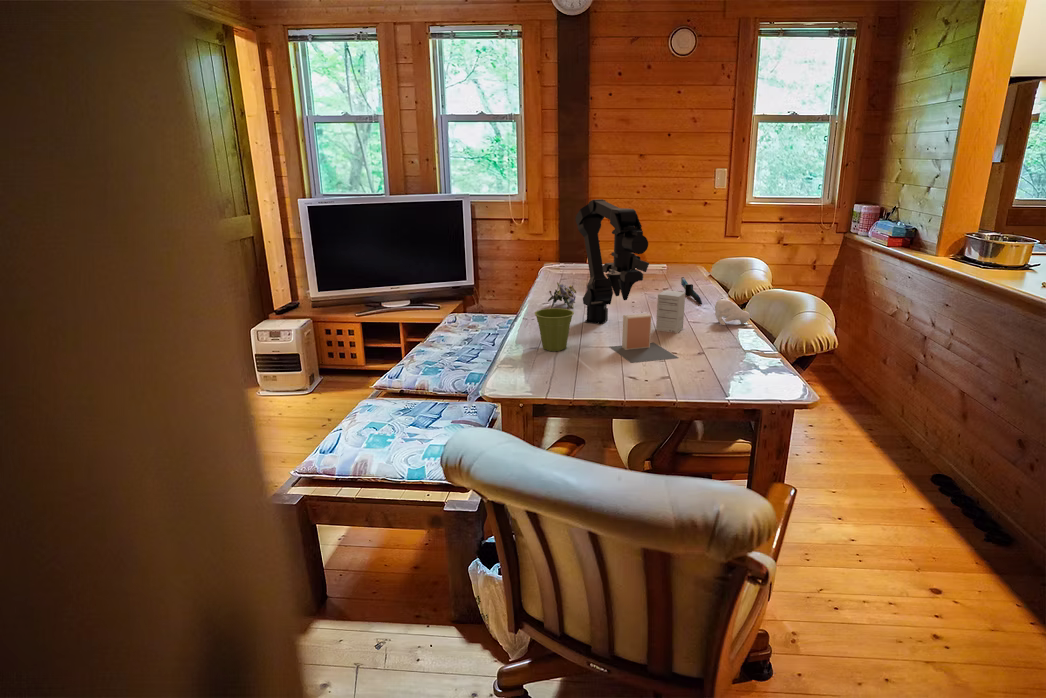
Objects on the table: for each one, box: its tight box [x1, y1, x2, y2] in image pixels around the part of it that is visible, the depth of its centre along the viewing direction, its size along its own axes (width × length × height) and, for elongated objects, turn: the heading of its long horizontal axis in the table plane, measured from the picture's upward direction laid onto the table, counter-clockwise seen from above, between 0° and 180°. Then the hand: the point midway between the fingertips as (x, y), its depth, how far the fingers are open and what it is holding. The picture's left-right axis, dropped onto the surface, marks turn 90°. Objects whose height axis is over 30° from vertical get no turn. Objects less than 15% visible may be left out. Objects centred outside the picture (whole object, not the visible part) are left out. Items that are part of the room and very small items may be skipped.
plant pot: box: [534, 307, 575, 352], centre depth 186 cm, size 12×12×11 cm
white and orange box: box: [621, 313, 652, 350], centre depth 185 cm, size 3×8×10 cm, turn 105°
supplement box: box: [655, 290, 686, 334], centre depth 204 cm, size 7×7×13 cm
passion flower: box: [547, 282, 577, 309], centre depth 237 cm, size 11×11×12 cm
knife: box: [680, 276, 703, 306], centre depth 251 cm, size 31×3×4 cm, turn 177°
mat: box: [609, 342, 679, 364], centre depth 182 cm, size 16×15×1 cm
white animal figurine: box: [714, 298, 751, 326], centre depth 211 cm, size 6×8×12 cm
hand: (621, 298), depth 198 cm, fingers open, 6 cm apart
